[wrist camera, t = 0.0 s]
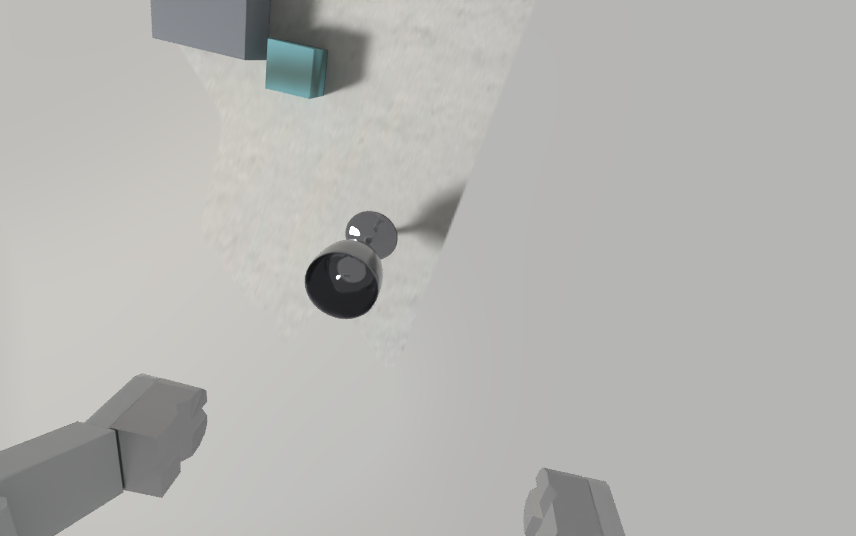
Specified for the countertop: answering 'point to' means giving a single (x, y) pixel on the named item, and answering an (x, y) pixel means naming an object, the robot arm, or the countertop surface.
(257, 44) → the charcoal block
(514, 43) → the countertop surface
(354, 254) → the wine glass
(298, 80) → the teal block
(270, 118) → the countertop surface
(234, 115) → the countertop surface
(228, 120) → the countertop surface
